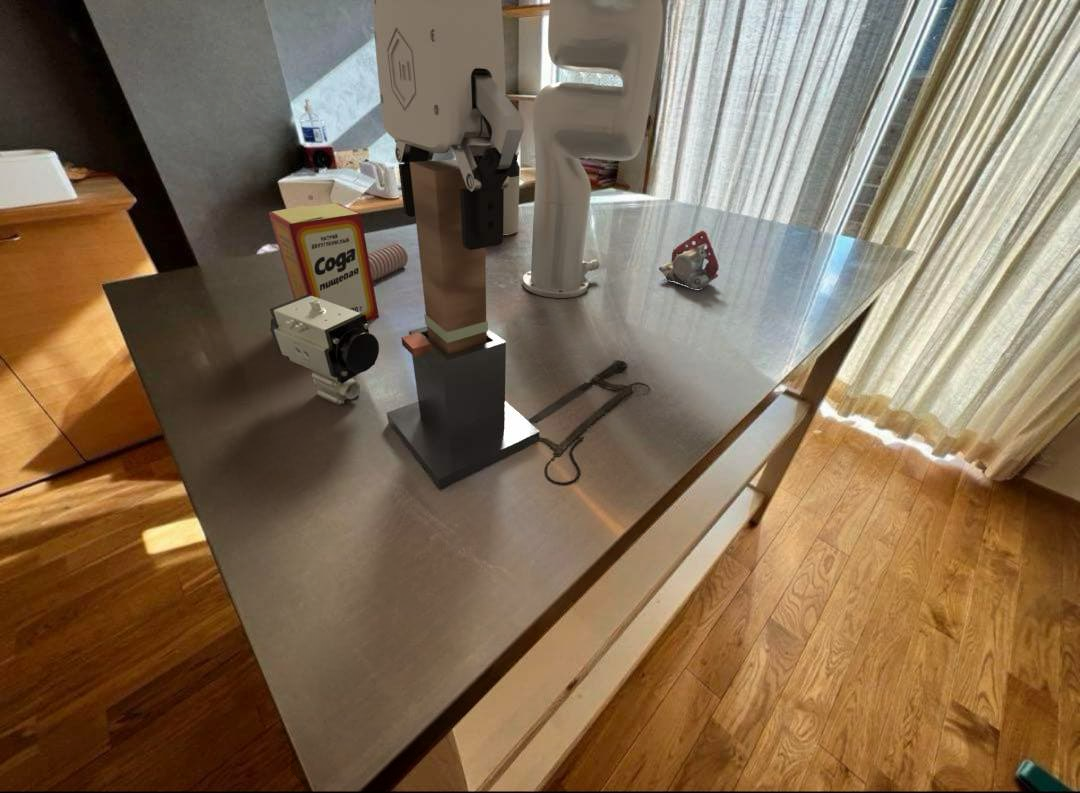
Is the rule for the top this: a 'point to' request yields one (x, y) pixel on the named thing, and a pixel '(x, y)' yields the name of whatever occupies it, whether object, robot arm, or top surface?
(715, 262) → the brake caliper
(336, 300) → the baking soda box
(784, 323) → the top surface
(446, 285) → the column
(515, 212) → the travel mug
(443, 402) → the sleeve
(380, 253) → the coil
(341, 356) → the pneumatic valve
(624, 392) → the hacksaw
